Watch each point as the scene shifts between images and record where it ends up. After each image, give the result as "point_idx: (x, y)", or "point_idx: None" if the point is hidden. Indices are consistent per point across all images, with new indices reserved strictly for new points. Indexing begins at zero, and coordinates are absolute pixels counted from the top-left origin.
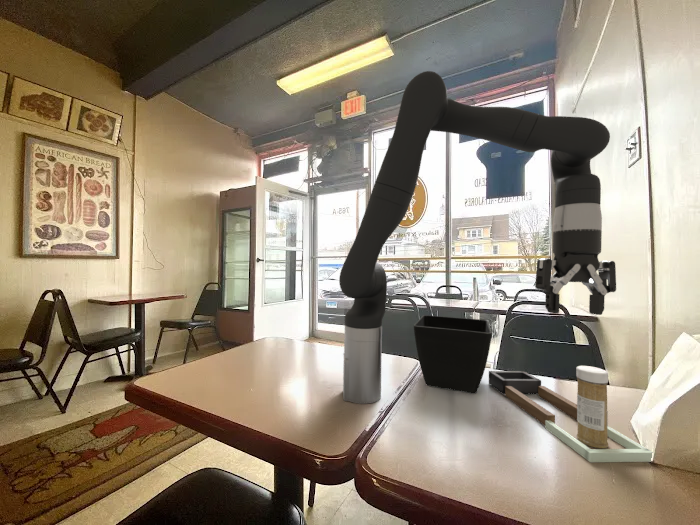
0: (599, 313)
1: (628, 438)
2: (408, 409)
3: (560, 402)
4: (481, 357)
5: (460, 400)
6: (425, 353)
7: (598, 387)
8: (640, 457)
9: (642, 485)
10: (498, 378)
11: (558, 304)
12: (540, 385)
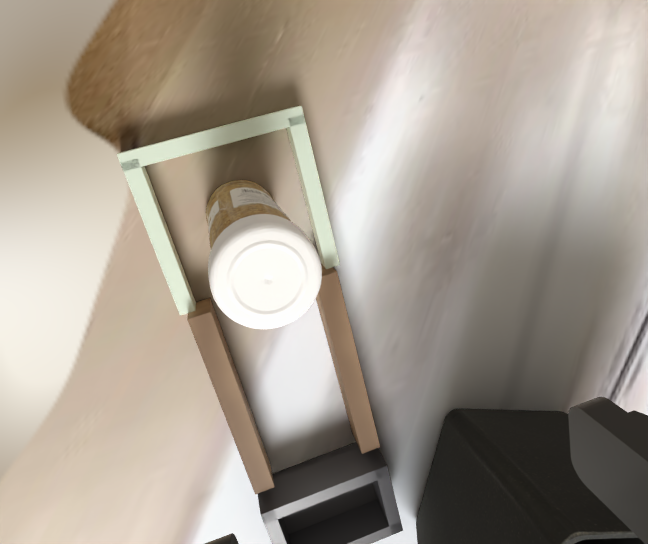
0: (225, 537)
1: (147, 221)
2: (639, 255)
3: (244, 400)
4: (518, 464)
5: (500, 353)
6: None
7: (260, 213)
8: (159, 142)
9: (218, 27)
10: (390, 483)
11: (636, 446)
12: (260, 501)
